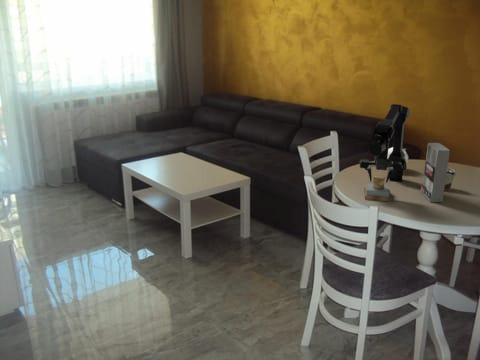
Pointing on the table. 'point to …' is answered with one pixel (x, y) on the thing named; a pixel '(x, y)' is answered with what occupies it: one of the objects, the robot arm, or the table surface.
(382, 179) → the tan rounded piece
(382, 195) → the tower top block
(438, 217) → the table surface
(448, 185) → the food container
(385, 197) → the tower base block
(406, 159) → the geodesic sphere
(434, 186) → the grey handheld device
